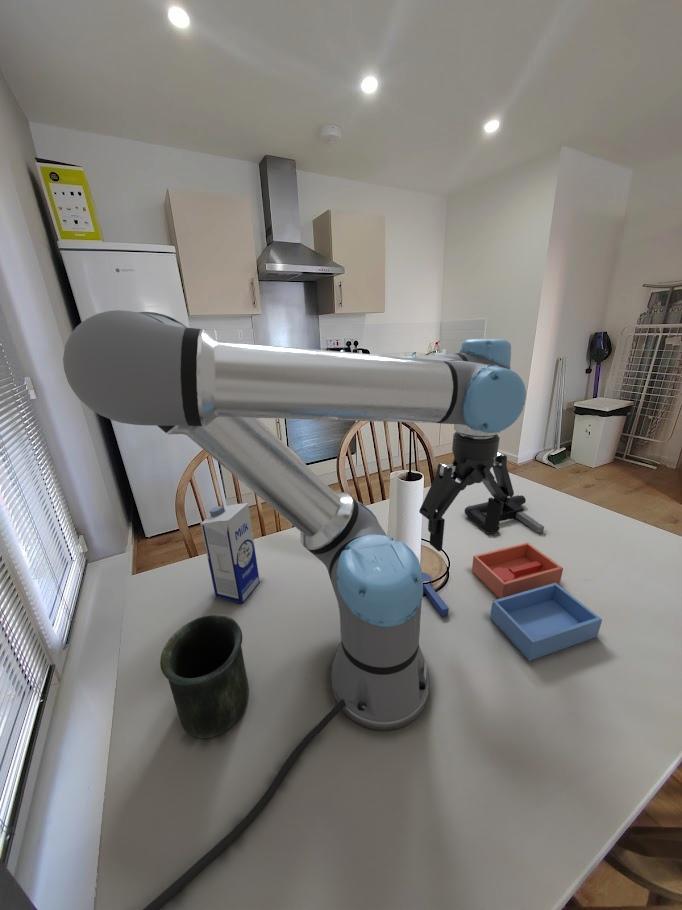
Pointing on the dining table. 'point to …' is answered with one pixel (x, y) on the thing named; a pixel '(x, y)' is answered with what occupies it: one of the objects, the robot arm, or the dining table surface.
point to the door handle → (510, 510)
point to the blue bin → (544, 620)
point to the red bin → (514, 558)
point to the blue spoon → (434, 596)
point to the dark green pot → (207, 674)
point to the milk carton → (231, 551)
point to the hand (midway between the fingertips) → (464, 538)
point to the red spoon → (517, 570)
